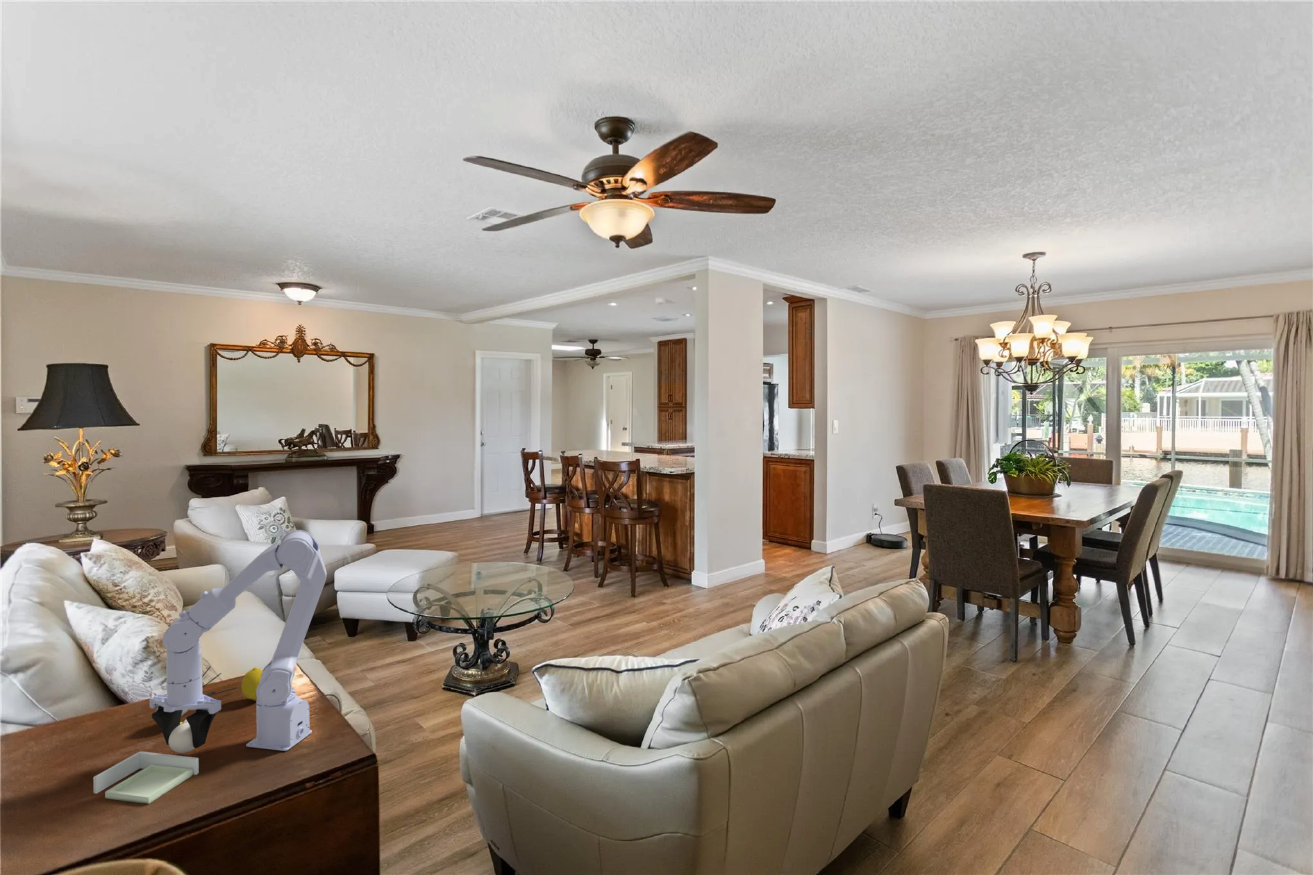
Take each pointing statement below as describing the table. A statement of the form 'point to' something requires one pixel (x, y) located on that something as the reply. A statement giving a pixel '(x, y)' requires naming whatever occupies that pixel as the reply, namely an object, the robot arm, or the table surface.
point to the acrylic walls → (142, 762)
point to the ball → (181, 739)
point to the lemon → (251, 683)
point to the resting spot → (149, 784)
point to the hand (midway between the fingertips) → (186, 744)
